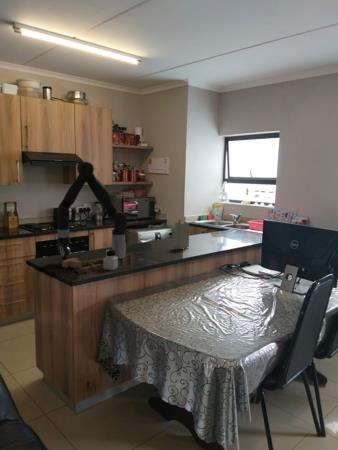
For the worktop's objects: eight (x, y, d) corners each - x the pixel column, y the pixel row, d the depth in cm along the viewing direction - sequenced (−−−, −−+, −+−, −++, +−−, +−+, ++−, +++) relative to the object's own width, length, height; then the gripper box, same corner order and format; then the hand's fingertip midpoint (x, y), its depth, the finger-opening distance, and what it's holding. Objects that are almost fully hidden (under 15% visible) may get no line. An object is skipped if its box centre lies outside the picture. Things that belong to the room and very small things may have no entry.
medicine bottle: (117, 267, 232) (118, 249, 230) (113, 270, 225) (113, 251, 223) (107, 266, 233) (107, 248, 231) (103, 269, 226) (103, 250, 225)
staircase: (188, 248, 296) (189, 218, 292) (179, 250, 287) (180, 219, 284) (181, 247, 301) (182, 217, 297) (172, 249, 293) (173, 218, 289)
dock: (93, 266, 232) (93, 262, 232) (102, 268, 227) (102, 264, 227) (72, 271, 219) (72, 267, 218) (80, 274, 214) (80, 269, 213)
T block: (74, 263, 238) (74, 257, 238) (85, 266, 232) (85, 260, 231) (62, 266, 230) (62, 260, 230) (72, 269, 224) (72, 263, 223)
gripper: (74, 236, 233) (75, 262, 236) (62, 234, 241) (62, 258, 244) (65, 238, 227) (65, 264, 230) (52, 235, 235) (53, 260, 238)
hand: (64, 261), depth 237 cm, fingers closed
